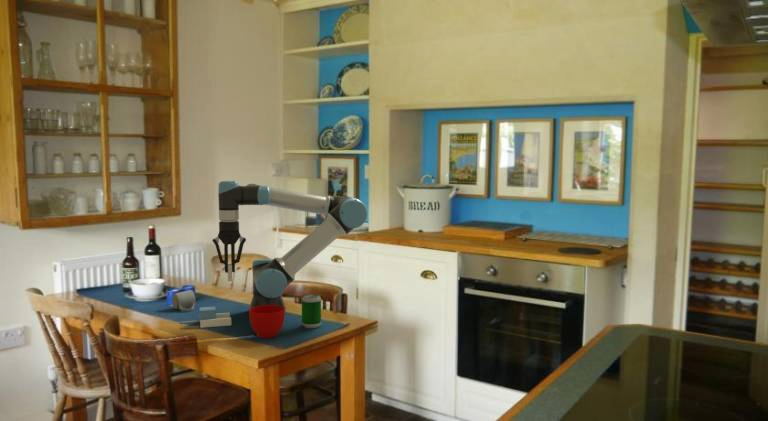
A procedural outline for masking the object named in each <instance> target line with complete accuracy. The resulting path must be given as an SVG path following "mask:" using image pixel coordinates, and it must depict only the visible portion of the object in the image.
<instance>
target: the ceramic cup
mask: <svg viewBox="0 0 768 421" xmlns="http://www.w3.org/2000/svg"><path fill="white" fill-rule="evenodd" d="M249 308H250V307H249ZM249 308H248V316H249V323H250V326H251V328H252V330H253V332H254V333H255V334H256V335H257V336H258V338H261V339H271V338H274V337H277V335H278V334H279V333H280V332H281V330H282V328H283V326H284V322H285V316H286V313H285V308H286V307H285V308H284V307H282V306H278V305H261V306H256V307H252V308H250V309H249Z"/></svg>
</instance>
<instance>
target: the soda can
mask: <svg viewBox="0 0 768 421" xmlns="http://www.w3.org/2000/svg"><path fill="white" fill-rule="evenodd" d="M301 324H302V326H303V327H304V328H306V329H316V328H319V327H320V325H322V298H321V296H320V295H319V294H316V293H314V294H313V293H312V294H311V293H310V294H309V293H308V294H304V295H303V297H301Z"/></svg>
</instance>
